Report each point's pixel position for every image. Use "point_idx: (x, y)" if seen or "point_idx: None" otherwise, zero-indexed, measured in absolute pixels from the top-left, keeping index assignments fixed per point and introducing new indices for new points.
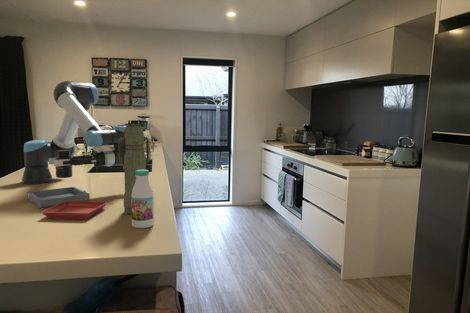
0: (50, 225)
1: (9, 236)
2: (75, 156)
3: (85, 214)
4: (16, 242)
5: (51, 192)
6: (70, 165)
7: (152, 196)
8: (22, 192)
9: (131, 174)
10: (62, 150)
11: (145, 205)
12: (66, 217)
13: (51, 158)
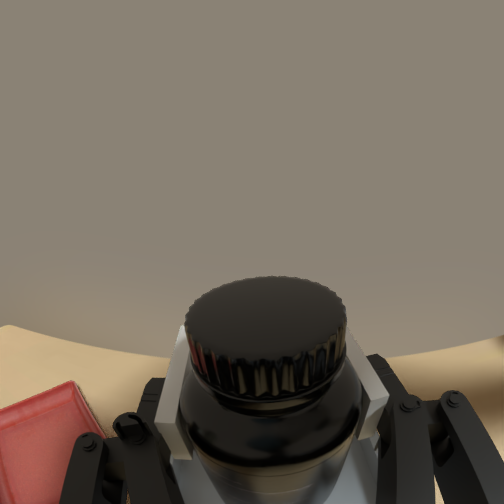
0: (36, 387)
1: (55, 342)
2: (485, 494)
3: None
4: (31, 340)
5: (374, 464)
6: (206, 471)
7: None
8: (468, 377)
9: None
10: (272, 300)
11: None
12: (32, 415)
13: None
